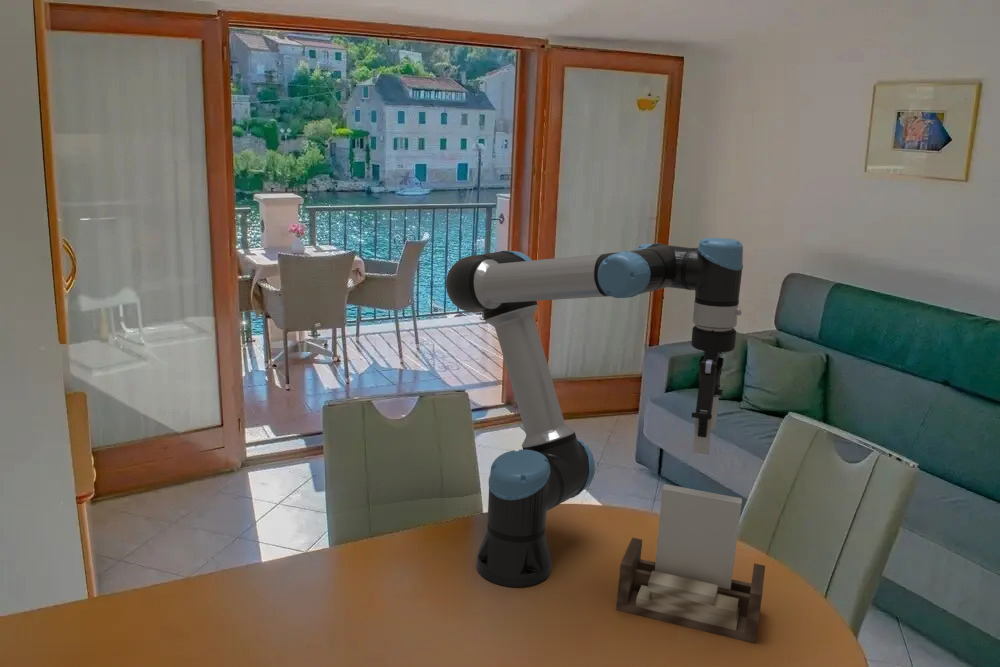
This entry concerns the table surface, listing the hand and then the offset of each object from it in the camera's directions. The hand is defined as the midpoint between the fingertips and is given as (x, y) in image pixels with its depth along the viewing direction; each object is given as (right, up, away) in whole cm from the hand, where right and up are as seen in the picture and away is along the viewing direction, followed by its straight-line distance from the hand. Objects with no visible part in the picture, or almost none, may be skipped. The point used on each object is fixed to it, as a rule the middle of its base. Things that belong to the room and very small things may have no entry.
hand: (704, 440), depth 150 cm
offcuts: (-3, -32, +1) cm, 32 cm away
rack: (-2, -32, +4) cm, 33 cm away
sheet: (-1, -30, +6) cm, 31 cm away
